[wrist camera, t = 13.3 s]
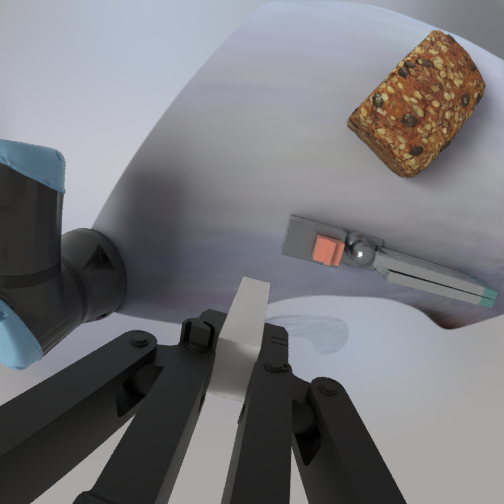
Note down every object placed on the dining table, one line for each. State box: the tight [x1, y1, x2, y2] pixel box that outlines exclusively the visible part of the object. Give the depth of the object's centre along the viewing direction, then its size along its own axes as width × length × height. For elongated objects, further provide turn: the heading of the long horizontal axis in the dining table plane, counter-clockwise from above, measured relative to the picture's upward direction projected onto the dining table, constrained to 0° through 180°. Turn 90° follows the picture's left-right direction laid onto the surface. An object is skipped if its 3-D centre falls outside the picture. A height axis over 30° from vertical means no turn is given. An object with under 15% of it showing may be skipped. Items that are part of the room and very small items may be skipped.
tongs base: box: [282, 215, 495, 309], centre depth 36 cm, size 31×5×7 cm, turn 77°
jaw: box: [349, 240, 498, 300], centre depth 35 cm, size 23×2×7 cm, turn 77°
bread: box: [347, 30, 486, 178], centre depth 29 cm, size 19×11×10 cm, turn 138°
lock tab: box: [312, 235, 345, 266], centre depth 34 cm, size 3×3×3 cm
